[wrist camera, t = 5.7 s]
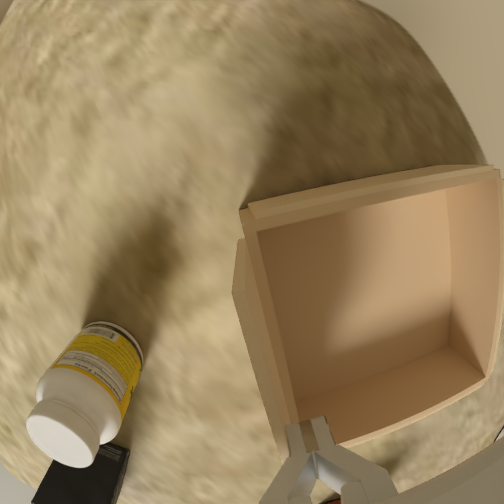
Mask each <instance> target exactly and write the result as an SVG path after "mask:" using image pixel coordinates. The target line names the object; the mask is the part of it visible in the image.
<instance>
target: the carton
mask: <svg viewBox="0 0 504 504" xmlns="http://www.w3.org/2000/svg"><path fill="white" fill-rule="evenodd" d="M247 204H248V208H245V209H241V210H239V215H240V219H241V223H242V227H243V231H244V235H245V239H246V244H247V248H248V252H249V256H250V260H251V264H252V268H253V272H254V276H255V280H256V285H257V289H258V293H259V297H260V301H261V305H262V309H263V313H264V317H265V321H266V325H267V329H268V333H269V338H270V342H271V346H272V350H273V354H274V358H275V362H276V366H277V370H278V374H279V378H280V382H281V386H282V390H283V394H284V398H285V402H286V406H287V410H288V414H289V418H290V422H291V424H292V423H297V422H300V421H305V420H309V419H312V418H316V417H320V416H326V418H327V421H328V425H329V430H330V431H332V434H333V437H334V439H335V442H336V445H338V444H339V445H341V446H343V447H344V448H346V449H347V448H350V447H353V446H356V445H359V444H361V443H364V442H367V441H370V440H373V439H375V438H378V437H380V436H383V435H386V434H388V433H391V432H393V431H395V430H398V429H400V428H403V427H405V426H407V425H409V424H412V423H414V422H416V421H418V420H420V419H423V418H425V417H427V416H429V415H431V414H433V413H435V412H437V411H439V410H441V409H443V408H445V407H447V406H449V405H450V404H452V403H454V402H456V401H458V400H460V399H461V398H463V397H465V396H467V395H468V394H470V393H472V392H474V391H475V390H477V389H479V388H480V387H482V386H483V383H484V382H486V381H487V380H489V377H490V373H492V372H493V369H494V365H495V360H496V355H497V350H498V344H499V339H500V332H501V326H502V319H503V310H504V179H501V176H500V169H494V167H493V165H436V166H430V167H424V168H418V169H412V170H406V171H400V172H395V173H389V174H384V175H378V176H373V177H368V178H362V179H357V180H352V181H347V182H342V183H337V184H332V185H327V186H323V187H318V188H313V189H308V190H304V191H299V192H295V193H290V194H286V195H281V196H277V197H272V198H268V199H264V200H259V201H255V202H251V203H247Z"/></svg>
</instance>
